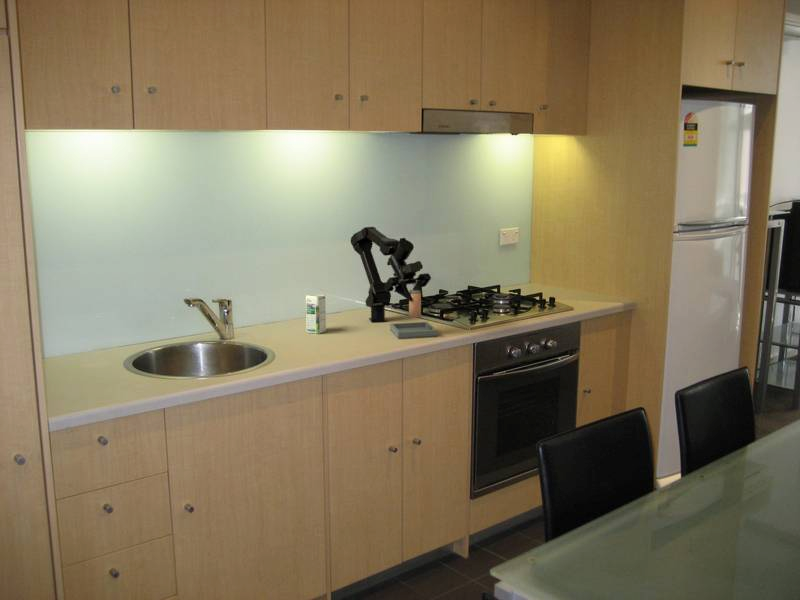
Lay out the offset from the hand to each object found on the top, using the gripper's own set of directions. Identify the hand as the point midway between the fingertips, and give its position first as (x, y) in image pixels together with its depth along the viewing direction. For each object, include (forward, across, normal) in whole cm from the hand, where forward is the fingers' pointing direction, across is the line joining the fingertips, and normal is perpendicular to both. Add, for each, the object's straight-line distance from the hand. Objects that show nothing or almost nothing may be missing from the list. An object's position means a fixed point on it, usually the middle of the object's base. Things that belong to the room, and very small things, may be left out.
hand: (416, 300), depth 300 cm
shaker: (+4, 0, +6) cm, 7 cm away
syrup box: (-9, -29, +28) cm, 42 cm away
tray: (+8, 0, +11) cm, 14 cm away
